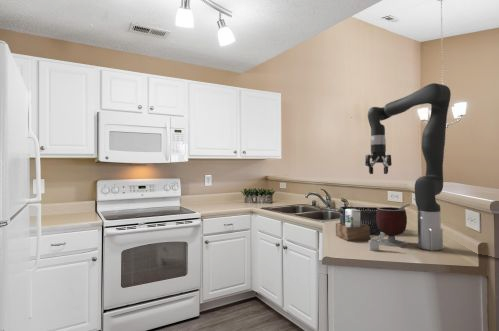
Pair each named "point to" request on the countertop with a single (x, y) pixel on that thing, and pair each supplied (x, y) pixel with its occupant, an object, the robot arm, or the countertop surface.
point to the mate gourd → (391, 223)
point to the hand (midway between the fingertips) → (378, 174)
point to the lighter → (376, 242)
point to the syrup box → (352, 218)
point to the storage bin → (364, 217)
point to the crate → (353, 232)
